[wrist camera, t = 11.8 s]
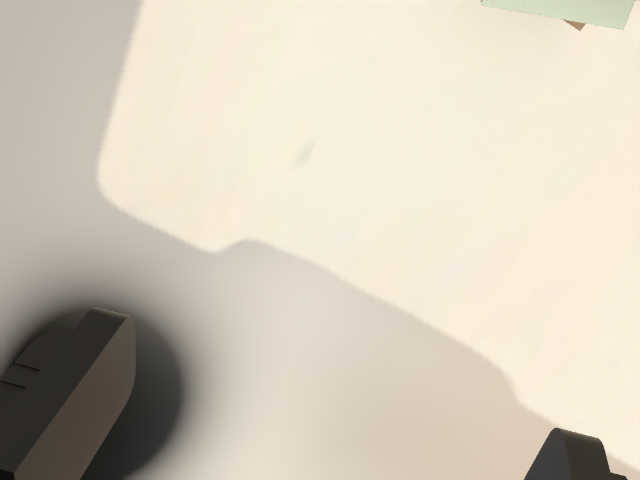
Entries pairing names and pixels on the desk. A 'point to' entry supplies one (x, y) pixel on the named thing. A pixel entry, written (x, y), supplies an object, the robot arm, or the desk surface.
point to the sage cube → (572, 10)
